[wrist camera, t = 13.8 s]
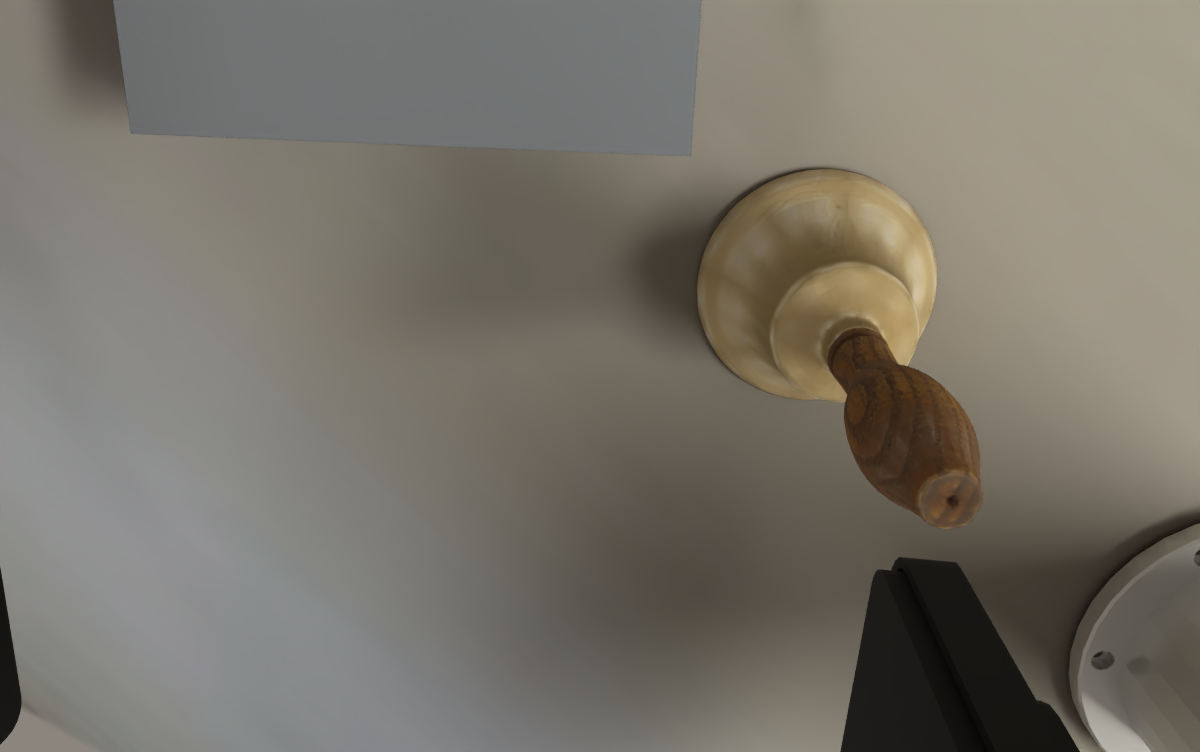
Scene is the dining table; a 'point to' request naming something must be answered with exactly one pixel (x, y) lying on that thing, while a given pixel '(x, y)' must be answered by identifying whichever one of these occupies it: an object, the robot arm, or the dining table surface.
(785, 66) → the dining table surface
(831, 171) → the hand bell
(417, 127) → the well block
